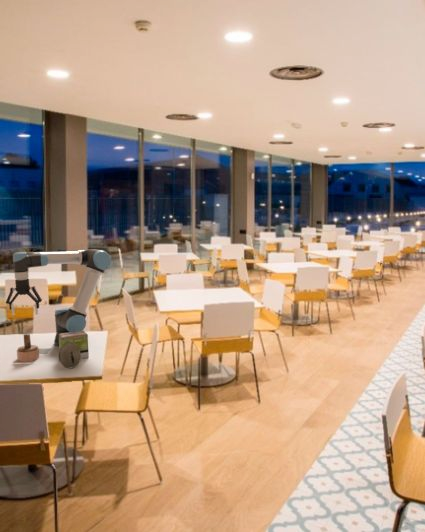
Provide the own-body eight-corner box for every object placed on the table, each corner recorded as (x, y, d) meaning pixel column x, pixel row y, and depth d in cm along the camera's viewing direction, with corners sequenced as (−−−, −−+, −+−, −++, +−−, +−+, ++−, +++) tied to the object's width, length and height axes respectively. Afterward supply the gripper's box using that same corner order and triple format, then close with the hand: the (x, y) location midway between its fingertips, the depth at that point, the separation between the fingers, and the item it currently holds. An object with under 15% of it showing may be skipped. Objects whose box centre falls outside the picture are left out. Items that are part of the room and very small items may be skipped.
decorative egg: (84, 368, 304) (82, 342, 302) (62, 372, 298) (61, 346, 296) (77, 362, 314) (76, 337, 312) (57, 366, 308) (55, 340, 306)
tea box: (63, 362, 316) (61, 337, 314) (59, 357, 325) (58, 333, 323) (89, 357, 323) (87, 333, 321) (84, 353, 332) (83, 329, 330)
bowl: (41, 355, 330) (41, 345, 329) (35, 362, 318) (34, 352, 317) (21, 356, 329) (20, 346, 329) (14, 362, 318) (14, 352, 317)
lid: (40, 346, 328) (39, 331, 327) (34, 351, 317) (33, 337, 316) (21, 346, 328) (20, 332, 327) (15, 352, 317) (13, 337, 316)
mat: (51, 349, 342) (51, 348, 342) (46, 354, 331) (46, 353, 331) (33, 349, 342) (33, 348, 342) (28, 355, 331) (28, 354, 331)
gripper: (45, 276, 323) (48, 311, 326) (2, 278, 322) (5, 313, 325) (41, 279, 315) (45, 315, 319) (-3, 281, 314) (1, 317, 318)
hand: (25, 314), depth 322 cm, fingers open, 13 cm apart
